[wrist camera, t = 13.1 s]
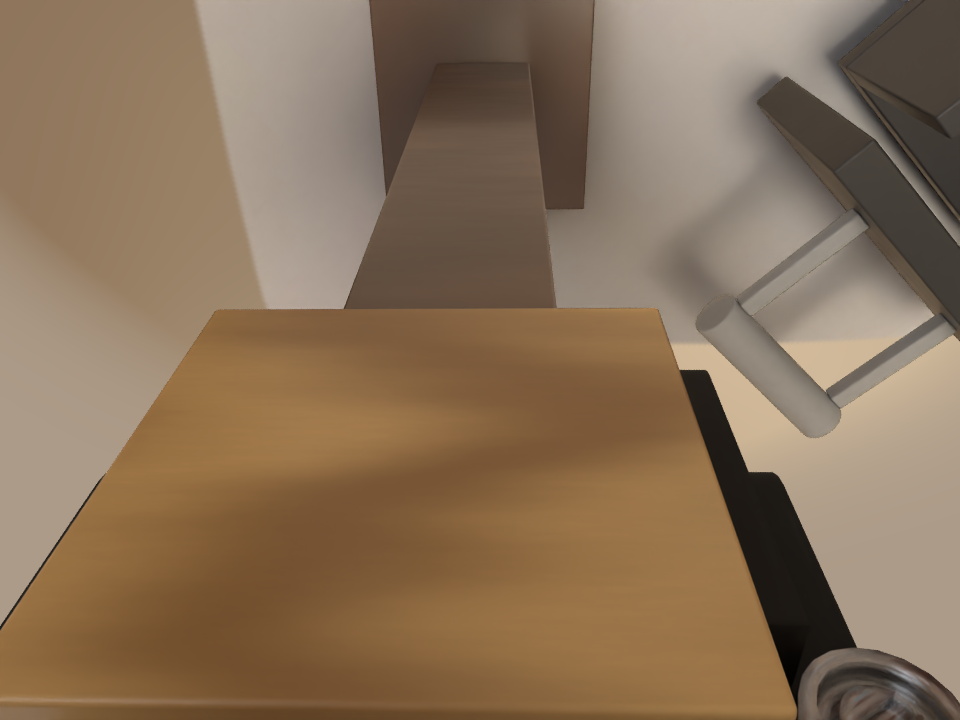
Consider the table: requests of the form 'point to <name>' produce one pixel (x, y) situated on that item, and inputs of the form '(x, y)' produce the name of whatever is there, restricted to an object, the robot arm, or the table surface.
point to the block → (404, 534)
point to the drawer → (865, 206)
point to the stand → (475, 149)
